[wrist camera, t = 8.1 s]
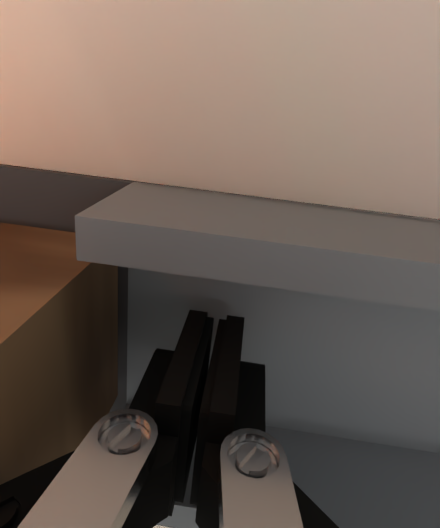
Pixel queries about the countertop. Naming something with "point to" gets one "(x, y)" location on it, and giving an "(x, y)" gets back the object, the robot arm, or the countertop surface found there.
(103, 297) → the block
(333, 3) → the countertop surface
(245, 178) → the countertop surface
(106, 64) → the countertop surface
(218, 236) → the chute
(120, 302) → the mat
